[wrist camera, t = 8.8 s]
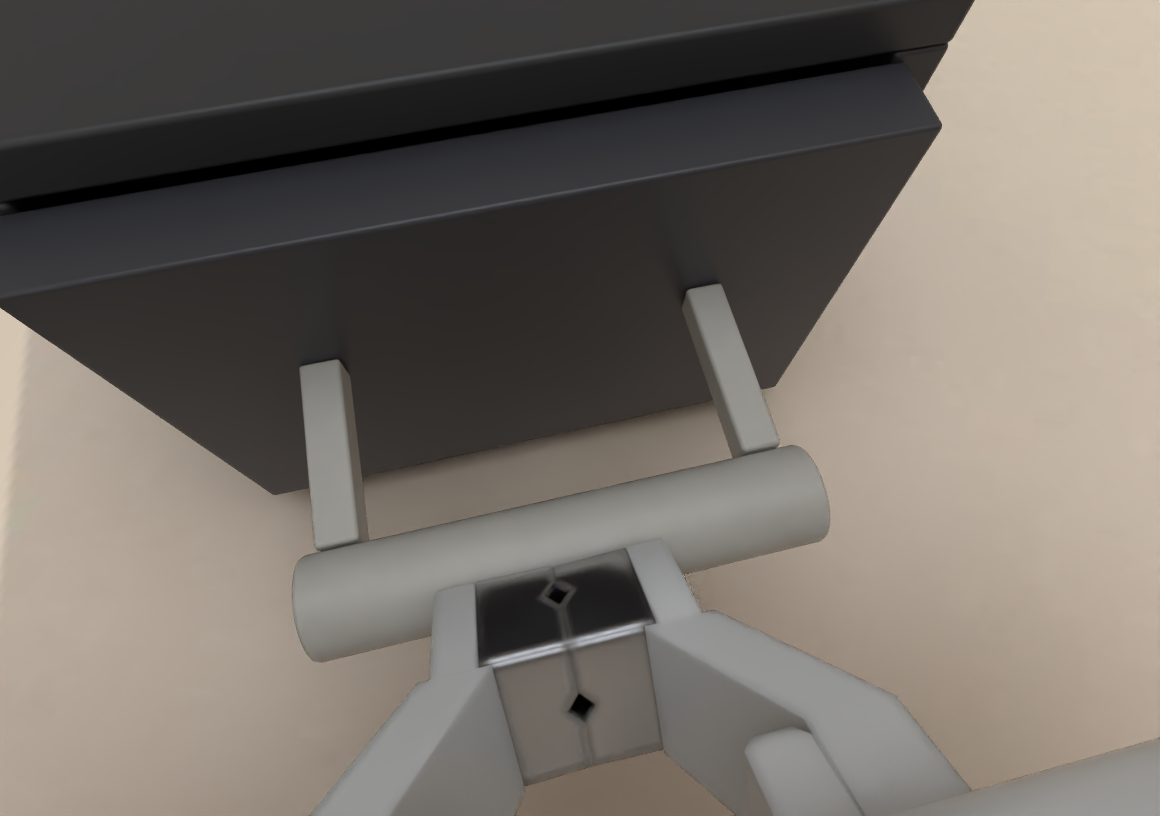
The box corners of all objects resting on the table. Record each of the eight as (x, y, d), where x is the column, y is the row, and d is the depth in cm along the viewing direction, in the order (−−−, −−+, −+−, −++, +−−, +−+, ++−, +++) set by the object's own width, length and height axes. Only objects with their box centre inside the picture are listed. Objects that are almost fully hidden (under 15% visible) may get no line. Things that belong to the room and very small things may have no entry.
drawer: (844, 566, 14) (1124, 428, 7) (287, 704, 13) (-66, 709, 6) (626, -3, 21) (653, -370, 14) (245, 56, 20) (59, -311, 13)
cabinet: (772, 355, 17) (984, -13, 8) (260, 463, 16) (-135, 167, 7) (623, -25, 23) (656, -488, 14) (235, 32, 21) (-1, -435, 13)
